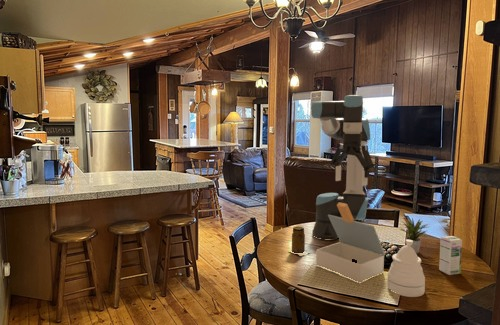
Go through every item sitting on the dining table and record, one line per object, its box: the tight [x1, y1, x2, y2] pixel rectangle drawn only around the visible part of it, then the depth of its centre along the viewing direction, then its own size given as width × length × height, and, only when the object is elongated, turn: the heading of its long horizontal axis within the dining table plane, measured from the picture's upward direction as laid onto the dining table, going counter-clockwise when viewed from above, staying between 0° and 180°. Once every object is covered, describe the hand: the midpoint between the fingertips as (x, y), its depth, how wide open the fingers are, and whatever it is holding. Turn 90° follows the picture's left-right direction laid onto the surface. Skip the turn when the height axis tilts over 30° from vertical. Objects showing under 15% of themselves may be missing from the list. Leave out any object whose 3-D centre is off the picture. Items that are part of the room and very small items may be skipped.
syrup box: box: [438, 235, 463, 276], centre depth 152 cm, size 6×6×14 cm
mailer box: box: [315, 241, 385, 282], centre depth 155 cm, size 22×16×8 cm
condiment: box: [291, 226, 306, 253], centre depth 175 cm, size 7×8×12 cm
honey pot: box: [386, 240, 426, 298], centre depth 137 cm, size 13×13×18 cm
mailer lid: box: [328, 202, 386, 257], centre depth 154 cm, size 22×25×2 cm
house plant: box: [399, 217, 429, 254], centre depth 175 cm, size 14×14×16 cm
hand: (350, 183), depth 157 cm, fingers open, 13 cm apart
